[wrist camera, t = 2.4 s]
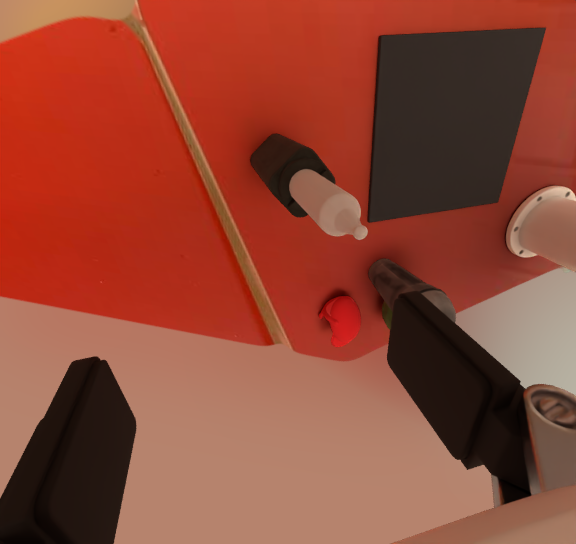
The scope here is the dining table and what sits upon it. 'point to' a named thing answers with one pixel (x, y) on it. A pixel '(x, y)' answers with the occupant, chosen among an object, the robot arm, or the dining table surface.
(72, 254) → the dining table surface
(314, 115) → the dining table surface
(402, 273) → the beverage cup
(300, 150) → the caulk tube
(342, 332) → the red animal figurine
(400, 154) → the mat
